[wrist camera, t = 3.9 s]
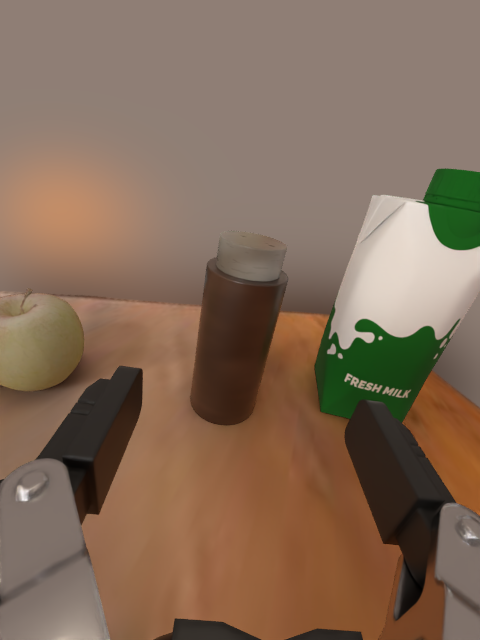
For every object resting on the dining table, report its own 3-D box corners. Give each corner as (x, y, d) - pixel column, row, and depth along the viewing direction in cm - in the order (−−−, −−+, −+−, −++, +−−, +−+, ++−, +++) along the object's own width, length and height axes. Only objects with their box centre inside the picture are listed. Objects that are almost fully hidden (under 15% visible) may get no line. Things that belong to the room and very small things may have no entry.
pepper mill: (178, 411, 23) (196, 237, 16) (204, 371, 28) (226, 225, 21) (245, 434, 22) (291, 260, 16) (259, 389, 27) (299, 242, 21)
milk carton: (311, 417, 25) (415, 158, 16) (305, 359, 33) (372, 165, 24) (412, 442, 24) (581, 190, 15) (381, 376, 32) (480, 185, 23)
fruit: (105, 359, 27) (101, 280, 23) (50, 418, 20) (31, 320, 17) (28, 342, 27) (12, 261, 23) (-51, 395, 21) (-91, 294, 17)
